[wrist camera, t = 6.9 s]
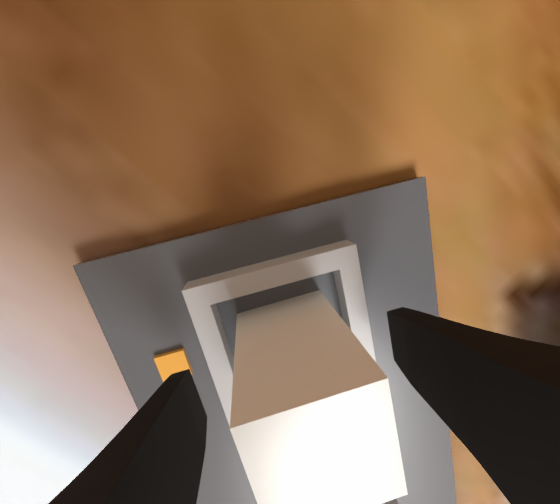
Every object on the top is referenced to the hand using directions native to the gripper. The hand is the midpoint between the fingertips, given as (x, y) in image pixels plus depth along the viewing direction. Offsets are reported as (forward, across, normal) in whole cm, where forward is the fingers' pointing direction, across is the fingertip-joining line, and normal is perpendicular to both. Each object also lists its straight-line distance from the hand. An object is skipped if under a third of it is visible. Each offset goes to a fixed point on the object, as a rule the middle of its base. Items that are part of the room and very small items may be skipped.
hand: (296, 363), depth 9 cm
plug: (+2, 0, 0) cm, 2 cm away
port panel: (+3, 0, +7) cm, 8 cm away
